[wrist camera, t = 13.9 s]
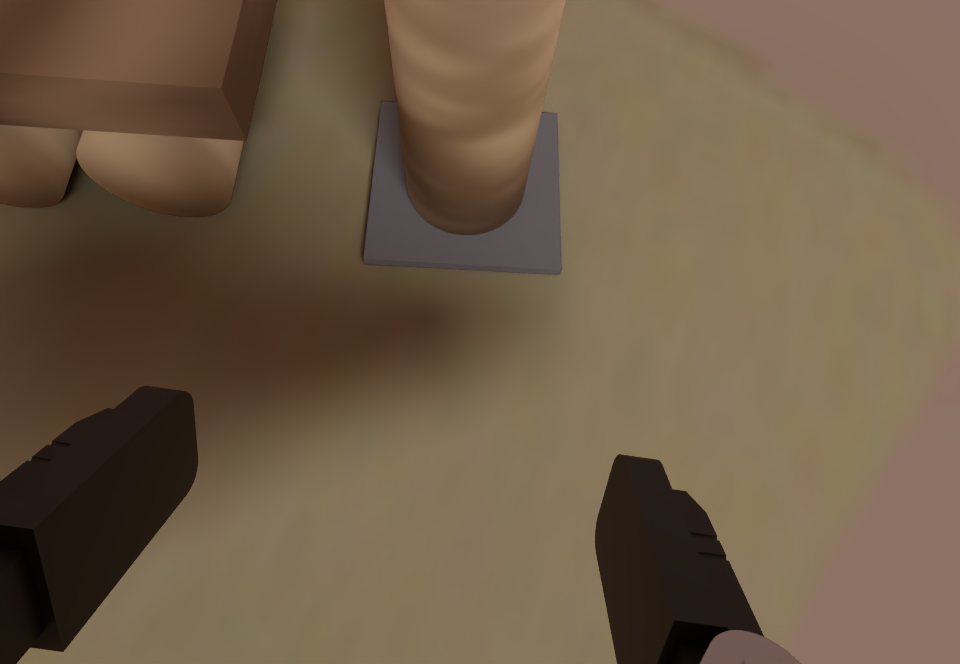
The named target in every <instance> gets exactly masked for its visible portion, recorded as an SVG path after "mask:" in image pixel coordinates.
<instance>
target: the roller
mask: <svg viewBox="0 0 960 664" xmlns="http://www.w3.org/2000/svg"><path fill="white" fill-rule="evenodd" d="M565 1H566V0H384V3H385V11H386V19H387V28H388V36H389V44H390V52H391V61H392V69H393V77H394V85H395V93H396V102H397V110H398V118H399V126H400V134H401V143H402V151H403V159H404V167H405V175H406V184H407V191H408V196H409V199H410V201H411V203H412V205H413V207H414V209H415V210H416V212H417V213H418V214H419V215H420V216H421V217H422V218H423V219H424V220H425V221H426V222H427V223H429V224H431V225H432V226H434V227H435V228H438V229H440V230H442V231H445V232H448V233H452V234H456V235H478V234H483V233H487V232H490V231H492V230H495V229H497V228H499V227H500V226H502V225H504V224H505V223H506V222H508V221H509V220H510V219H511V218H512V217H513V216H514V214H515V213H516V212H517V210H518V209H519V207H520V205H521V203H522V200H523V196H524V192H525V187H526V183H527V178H528V173H529V169H530V164H531V159H532V155H533V150H534V145H535V141H536V136H537V131H538V127H539V122H540V117H541V113H542V108H543V103H544V99H545V94H546V89H547V85H548V80H549V75H550V71H551V66H552V62H553V57H554V52H555V48H556V43H557V38H558V34H559V29H560V24H561V20H562V15H563V10H564V6H565Z"/></svg>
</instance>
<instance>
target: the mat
mask: <svg viewBox="0 0 960 664" xmlns="http://www.w3.org/2000/svg"><path fill="white" fill-rule="evenodd" d="M363 259H364V263H365V264H373V265H391V266H409V267H427V268H445V269H463V270H481V271H500V272H518V273H536V274H554V275H559V274H560V272H561V270H562V266H561V230H560V194H559V158H558V121H557V113H543V112H542V113H541V117H540V122H539V127H538V131H537V136H536V141H535V145H534V150H533V155H532V159H531V164H530V169H529V173H528V178H527V183H526V187H525V192H524V196H523V200H522V203H521V205H520V207H519V209H518V210H517V212H516V213H515V214H514V216H513V217H512V218H511V219H510V220H509V221H508V222H506V223H505V224H504V225H502V226H500V227H499V228H497V229H495V230H492V231H490V232H487V233H483V234H478V235H456V234H452V233H448V232H445V231H442V230H440V229H438V228H435V227H434V226H432V225H431V224H429V223H427V222H426V221H425V220H424V219H423V218H422V217H421V216H420V215H419V214H418V213H417V212H416V210H415V209H414V207H413V205H412V203H411V201H410V199H409V196H408V191H407V184H406V175H405V167H404V159H403V151H402V143H401V134H400V126H399V118H398V110H397V102H388V101H381V109H380V118H379V127H378V135H377V144H376V153H375V161H374V170H373V179H372V188H371V196H370V205H369V214H368V223H367V231H366V240H365V249H364V258H363Z"/></svg>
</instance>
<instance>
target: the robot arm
mask: <svg viewBox="0 0 960 664" xmlns="http://www.w3.org/2000/svg"><path fill="white" fill-rule="evenodd" d="M197 467H198V452H197V440H196V428H195V416H194V404H193V399H192V396H191V395H190V393H188V392H186V391H179V390H172V389H165V388H158V387H151V386H143V387H141V388H139V389H138V390H136V391H135V392H134V393H133V394H132V395H130V396H129V397H128V398H127V399H125V400H124V401H123V402H122V403H121V404H119V405H118V406H117V407H116V408H114V409H110V408H107V409H105V410H103V411H100V412H98V413H96V414H94V415H91V416H89V417H87V418H85V419H83V420H80V421H78V422H76V423H75V424H73V425H72V426H71V427H70V428H68V429H67V430H66V431H64V432H63V433H62V434H61V435H59V436H58V437H57V438H55V439H54V440H53V441H52V444H51V445H46V446H45V447H44V448H43V449H41V450H40V451H39V452H37V453H36V454H35V455H34V456H32V460H31V461H26V462H25V463H23V464H22V465H21V466H19V467H18V468H17V469H16V470H14V471H13V472H12V473H11V474H9V475H8V476H7V477H5V478H4V479H3V480H2V481H0V664H16V663H17V662H18V661H19V660H20V659H21V657H22V656H23V655H24V654H25V653H26V652H27V650H28V649H29V648H30V647H31V648H38V649H46V650H53V651H60V652H64V650H65V649H66V648H67V646H68V645H69V644H70V643H71V641H72V640H73V639H74V638H75V636H76V635H77V634H78V632H79V631H80V630H81V629H82V627H83V626H84V625H85V624H86V622H87V621H88V620H89V618H90V617H91V616H92V615H93V613H94V612H95V611H96V610H97V608H98V607H99V606H100V604H101V603H102V602H103V601H104V599H105V598H106V597H107V596H108V594H109V593H110V592H111V590H112V589H113V588H114V587H115V585H116V584H117V583H118V582H119V580H120V579H121V578H122V576H123V575H124V574H125V573H126V571H127V570H128V569H129V567H130V566H131V565H132V564H133V562H134V561H135V560H136V559H137V557H138V556H139V555H140V553H141V552H142V551H143V550H144V548H145V547H146V546H147V545H148V543H149V542H150V541H151V539H152V538H153V537H154V536H155V534H156V533H157V532H158V531H159V529H160V528H161V527H162V525H163V524H164V523H165V522H166V520H167V519H168V518H169V517H170V515H171V514H172V513H173V511H174V510H175V509H176V508H177V506H178V505H179V504H180V503H181V501H182V500H183V499H184V497H185V496H186V495H187V493H188V492H189V490H190V489H191V487H192V484H193V482H194V479H195V476H196V472H197ZM595 548H596V555H597V560H598V566H599V571H600V576H601V581H602V586H603V592H604V597H605V602H606V607H607V613H608V618H609V623H610V628H611V634H612V639H613V644H614V649H615V655H616V660H617V664H800V662H799V661H798V660H797V659H795V657H794V656H792V655H791V654H790V653H789V652H788V651H786V650H785V649H784V648H782V647H781V646H779V645H778V644H776V643H774V642H773V641H771V640H769V639H767V638H765V637H764V635H763V633H762V631H761V629H760V627H759V625H758V623H757V620H756V618H755V616H754V614H753V612H752V610H751V608H750V605H749V603H748V601H747V599H746V597H745V595H744V593H743V590H742V588H741V586H740V584H739V582H738V580H737V578H736V575H735V573H734V571H733V569H732V567H731V565H730V563H729V561H727V560H726V554H725V552H724V550H723V548H722V545H721V543H720V541H718V540H717V535H716V533H715V530H714V528H713V526H712V524H711V522H710V520H709V518H708V515H707V513H706V512H705V511H704V510H703V509H702V508H701V507H700V506H699V505H698V504H697V503H696V501H695V500H694V499H693V498H692V497H691V496H690V495H689V494H688V493H687V492H686V491H680V490H673V489H672V487H671V485H670V482H669V480H668V478H667V475H666V473H665V470H664V468H663V465H662V463H661V462H660V461H659V460H656V459H649V458H642V457H635V456H628V455H620V454H619V455H617V456H616V458H615V460H614V463H613V466H612V469H611V472H610V476H609V479H608V483H607V486H606V490H605V493H604V497H603V500H602V504H601V507H600V511H599V514H598V518H597V523H596V531H595Z"/></svg>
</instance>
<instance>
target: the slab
mask: <svg viewBox="0 0 960 664" xmlns="http://www.w3.org/2000/svg"><path fill="white" fill-rule="evenodd" d="M276 2H277V0H0V204H6V205H11V206H18V207H31V208H38V207H47V206H51V205H55V204H57V203H58V202H60V201H61V200H62V198H63V196H64V193H65V190H66V187H67V184H68V182H69V179H70V176H71V173H72V170H73V167H74V164H75V161H76V158H77V160H78V163H79V165H80V166H81V168H82V169H83V171H84V172H85V173H86V174H87V175H88V176H89V177H90V178H91V179H92V180H93V181H94V182H96V183H97V184H98V185H99V186H101V187H102V188H104V189H105V190H107V191H108V192H110V193H112V194H113V195H115V196H117V197H119V198H121V199H123V200H125V201H127V202H130V203H132V204H134V205H137V206H140V207H142V208H145V209H149V210H152V211H156V212H159V213H164V214H169V215H175V216H184V217H203V216H209V215H213V214H216V213H219V212H221V211H223V210H224V209H225V208H227V207H228V205H229V204H230V201H231V198H232V193H233V188H234V184H235V179H236V175H237V170H238V166H239V161H240V156H241V152H242V147H243V143H244V141H247V136H248V132H249V127H250V122H251V118H252V113H253V109H254V104H255V99H256V95H257V90H258V85H259V81H260V76H261V72H262V67H263V62H264V58H265V53H266V49H267V44H268V39H269V35H270V30H271V25H272V21H273V16H274V12H275V7H276Z"/></svg>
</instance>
